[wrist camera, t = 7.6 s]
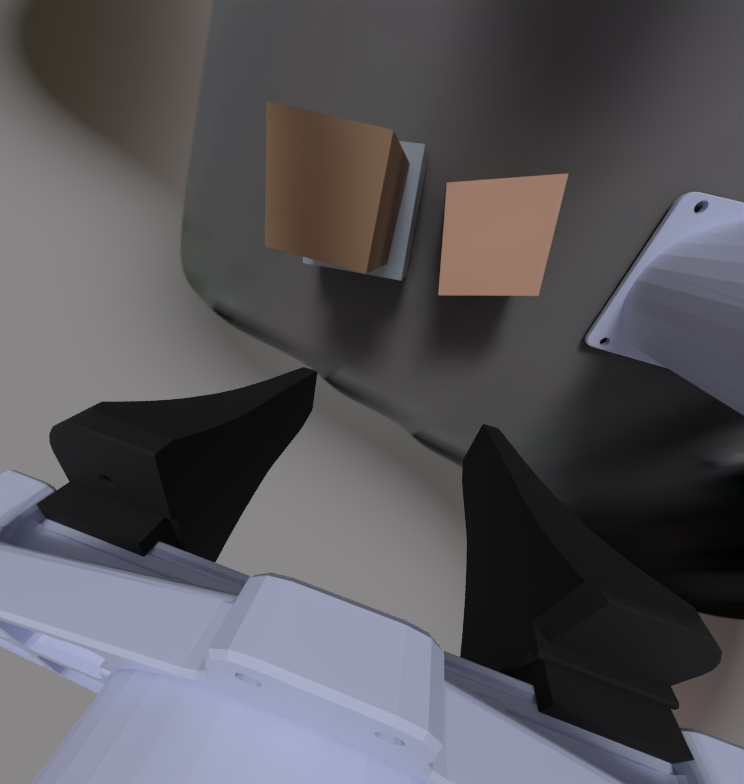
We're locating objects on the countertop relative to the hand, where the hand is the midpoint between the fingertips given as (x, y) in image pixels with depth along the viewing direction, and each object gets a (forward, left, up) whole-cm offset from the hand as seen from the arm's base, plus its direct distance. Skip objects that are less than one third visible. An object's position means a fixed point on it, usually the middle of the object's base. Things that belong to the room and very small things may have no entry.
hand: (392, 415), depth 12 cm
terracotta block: (-2, -7, -10) cm, 12 cm away
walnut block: (+5, -7, -7) cm, 11 cm away
